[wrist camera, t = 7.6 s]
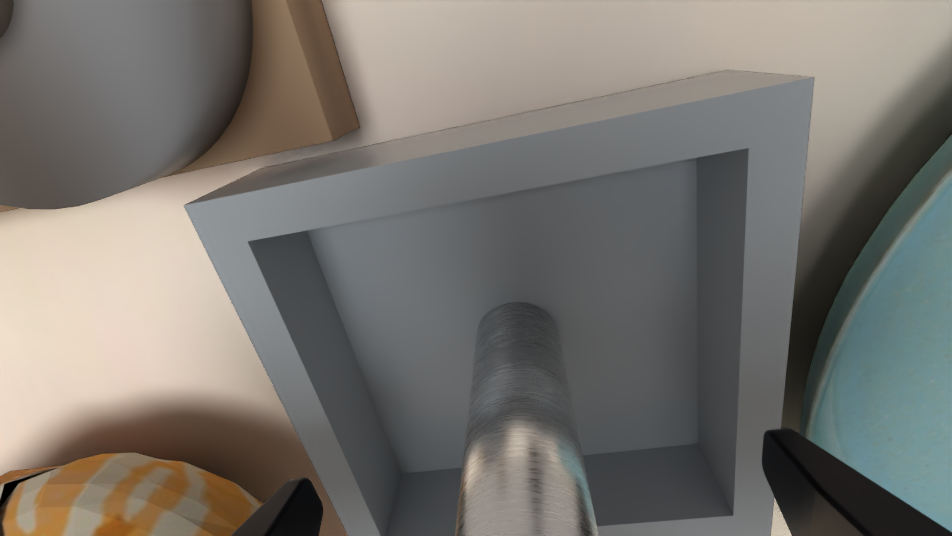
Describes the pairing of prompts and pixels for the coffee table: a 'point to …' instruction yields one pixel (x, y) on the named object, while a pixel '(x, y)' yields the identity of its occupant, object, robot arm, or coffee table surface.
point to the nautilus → (121, 499)
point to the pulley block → (157, 91)
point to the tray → (537, 296)
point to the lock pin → (522, 433)
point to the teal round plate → (894, 352)
